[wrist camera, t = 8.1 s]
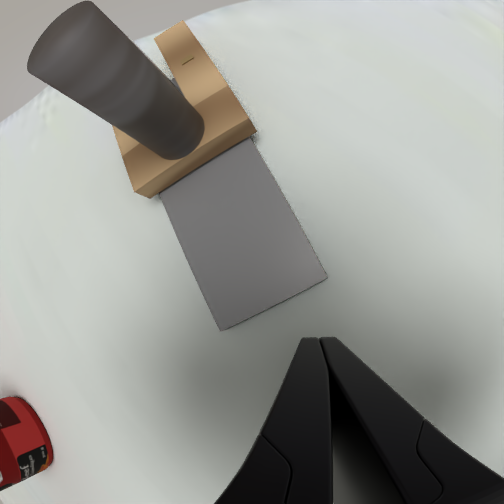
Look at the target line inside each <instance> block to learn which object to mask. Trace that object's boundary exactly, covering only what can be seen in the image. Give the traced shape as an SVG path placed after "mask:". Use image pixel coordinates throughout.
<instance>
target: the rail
mask: <svg viewBox="0 0 504 504" xmlns="http://www.w3.org/2000/svg"><path fill="white" fill-rule="evenodd" d="M127 37H128V36H127ZM128 38H129V37H128ZM129 39H130V38H129ZM130 40H131V39H130ZM131 41H132V40H131ZM132 42H133V41H132ZM133 43H134V42H133ZM134 44H135V43H134ZM135 45H136V44H135ZM136 46H137V45H136ZM137 47H138V46H137ZM138 48H139V47H138ZM139 49H140V48H139ZM140 50H141V49H140ZM141 51H142V50H141ZM142 52H143V51H142ZM143 53H144V52H143ZM144 55H145V56H146V57H147V58H148V59H149V60H150V58H149V57H148V56H147V55H146V54H145V53H144ZM150 61H151V60H150ZM151 62H152V61H151ZM152 63H153V62H152ZM153 64H154V63H153ZM154 65H155V64H154ZM155 66H156V65H155ZM156 67H157V66H156ZM157 68H158V67H157ZM158 69H159V68H158ZM159 70H160V69H159ZM160 71H161V70H160ZM161 72H162V71H161ZM162 73H163V72H162ZM163 75H164V76H165V77H166V75H165V74H164V73H163ZM166 78H167V77H166ZM167 79H168V78H167ZM168 80H169V79H168ZM169 81H170V82H171V83H172V84H173V85H174V86H175V87H176V89H177V90H178V91H179V92H180V93H181V94H182V95H183V96H184V94H183V92H182V91H181V89H180V87H179V85H178V83H177V81H176V79H175V78H173V79H172V80H169ZM184 97H185V96H184ZM159 195H160V197H161V200H162V202H163V205H164V207H165V209H166V212H167V214H168V217H169V219H170V221H171V224H172V226H173V229H174V231H175V233H176V236H177V238H178V240H179V243H180V245H181V247H182V249H183V252H184V254H185V256H186V259H187V261H188V263H189V265H190V268H191V270H192V272H193V274H194V276H195V279H196V281H197V283H198V285H199V287H200V290H201V292H202V294H203V296H204V298H205V300H206V303H207V305H208V307H209V309H210V311H211V313H212V315H213V317H214V319H215V322H216V324H217V326H218V328H219V330H220V331H223V330H225V329H227V328H229V327H231V326H233V325H235V324H238V323H240V322H242V321H244V320H246V319H248V318H250V317H252V316H254V315H256V314H258V313H260V312H262V311H264V310H266V309H268V308H270V307H272V306H274V305H276V304H278V303H280V302H282V301H284V300H286V299H288V298H290V297H292V296H294V295H296V294H298V293H300V292H302V291H304V290H306V289H308V288H310V287H311V286H313V285H315V284H317V283H319V282H321V281H323V280H325V279H327V278H328V277H327V275H326V273H325V271H324V269H323V267H322V265H321V263H320V261H319V259H318V258H317V256H316V254H315V252H314V250H313V248H312V246H311V244H310V242H309V241H308V239H307V237H306V235H305V233H304V231H303V229H302V228H301V226H300V224H299V222H298V220H297V218H296V217H295V215H294V213H293V211H292V209H291V207H290V206H289V204H288V202H287V200H286V198H285V197H284V195H283V193H282V191H281V190H280V188H279V186H278V184H277V183H276V181H275V179H274V177H273V176H272V174H271V172H270V170H269V169H268V167H267V165H266V163H265V162H264V160H263V158H262V157H261V155H260V153H259V151H258V150H257V148H256V146H255V145H254V143H253V141H252V140H251V138H250V136H249V137H247V138H245V139H243V140H242V141H240V142H238V143H237V144H235V145H233V146H231V147H230V148H228V149H226V150H225V151H223V152H221V153H220V154H218V155H217V156H215V157H213V158H212V159H210V160H208V161H207V162H205V163H204V164H202V165H200V166H199V167H197V168H196V169H194V170H193V171H191V172H189V173H188V174H186V175H185V176H183V177H182V178H180V179H179V180H177V181H176V182H174V183H173V184H171V185H170V186H168V187H167V188H165V189H164V190H162V191H161V192H159Z"/></svg>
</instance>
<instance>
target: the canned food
mask: <svg viewBox="0 0 504 504" xmlns="http://www.w3.org/2000/svg"><path fill="white" fill-rule="evenodd" d="M52 459H53V452H52V446H51V443H50V440H49V437H48V434H47V432H46V430H45V428H44V426H43V424H42V422H41V421H40V419H39V417H38V416H37V414H36V413H35V412H34V410H33V409H32V408H31V407H30V406H29V405H28V404H27V403H26V402H25V401H24V400H22V399H20V398H17V397H6V398H2V399H0V491H2V490H4V489H6V488H8V487H10V486H12V485H15V484H17V483H19V482H21V481H23V480H25V479H27V478H29V477H31V476H33V475H35V474H37V473H39V472H41V471H43V470H45V469H47V467H48V466H49V465H50V464H51V462H52Z"/></svg>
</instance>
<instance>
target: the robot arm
mask: <svg viewBox="0 0 504 504" xmlns="http://www.w3.org/2000/svg"><path fill="white" fill-rule="evenodd" d="M333 502H334V504H504V478H503V477H501V476H500V475H498V474H497V473H495V472H494V471H493V470H491V469H490V468H488V467H487V466H485V465H484V464H482V463H481V462H479V461H478V460H476V459H475V458H474V457H472V456H471V455H469V454H468V453H467V452H465V451H464V450H463V449H461V448H460V447H459V446H457V445H456V444H455V443H453V442H452V441H451V440H450V439H448V438H447V437H446V436H445V435H444V434H442V433H441V432H440V431H439V430H438V429H437V428H435V427H434V426H433V425H432V424H431V423H430V422H429V421H428V420H427V419H425V420H424V417H423V416H422V415H421V414H420V413H419V412H418V411H416V410H415V409H414V408H413V407H412V406H411V405H410V404H409V403H408V402H407V401H405V400H404V399H403V398H402V397H401V396H400V395H399V394H398V393H397V392H395V391H394V390H393V389H392V388H391V387H390V386H389V385H388V384H387V383H386V382H384V381H383V380H382V379H381V378H380V377H379V376H378V375H377V374H376V373H375V372H374V371H372V370H371V369H370V368H369V367H368V366H367V365H366V364H365V363H364V362H363V361H361V360H360V359H359V358H358V357H357V356H356V355H355V354H354V353H353V352H352V351H350V350H349V349H348V348H347V347H346V346H345V345H344V344H343V343H342V342H341V341H340V340H338V339H337V338H336V337H321V338H319V339H318V338H316V337H310V338H302V339H301V340H300V343H299V345H298V348H297V350H296V352H295V355H294V357H293V360H292V362H291V364H290V367H289V369H288V371H287V374H286V376H285V378H284V380H283V383H282V385H281V387H280V389H279V392H278V394H277V396H276V398H275V401H274V403H273V405H272V407H271V409H270V411H269V414H268V416H267V418H266V420H265V422H264V424H263V426H262V428H261V430H260V432H259V435H258V436H257V438H256V440H255V442H254V444H253V446H252V448H251V450H250V452H249V454H248V455H247V457H246V459H245V461H244V463H243V464H242V466H241V468H240V469H239V471H238V472H237V474H236V475H235V476H234V478H233V479H232V481H231V482H230V484H229V485H228V486H227V488H226V489H225V490H224V492H223V493H222V494H221V495H220V497H219V498H218V499H217V500H216V502H215V503H214V504H333Z"/></svg>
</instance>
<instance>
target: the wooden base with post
mask: <svg viewBox="0 0 504 504" xmlns="http://www.w3.org/2000/svg"><path fill="white" fill-rule="evenodd" d="M154 40H155V42H156V44H157V46H158V47H159V49H160V51H161V53H162V55H163V57H164V59H165V61H166V62H167V64H168V66H169V68H170V70H171V72H172V74H173V76H174V77H175V79H176V81H177V83H178V85H179V87H180V89H181V91H182V92H183V94H184V96H185V97H184V96H183V95H182V94H181V93H180V92H179V91H178V90H177V89H176V87H175V86H174V85H173V84H172V83H171V82H170V81H169V80H168V79H167V78H166V77H165V76H164V75H163V73H162V72H161V71H160V70H159V69H158V68H157V67H156V66H155V65H154V64H153V63H152V62H151V61H150V60H149V59H148V58H147V57H146V56H145V55H144V53H143V52H142V51H141V50H140V49H139V48H138V47H137V46H136V45H135V44H134V43H133V42H132V41H131V40H130V39H129V38H128V37H127V36H126V35H125V34H124V33H123V32H122V31H121V30H120V29H119V28H118V27H117V26H116V25H115V24H114V23H113V22H112V21H111V20H110V19H109V18H108V17H107V16H106V15H105V14H104V13H103V12H102V11H101V10H100V9H99V8H98V7H97V6H96V5H95V4H94V3H92V2H91V1H83V2H80V3H78V4H76V5H74V6H72V7H70V8H69V9H67V10H66V11H65V12H63V13H62V14H61V15H60V16H59V17H57V18H56V19H55V20H54V21H53V22H52V23H51V24H50V25H49V26H48V28H47V29H46V30H45V31H44V32H43V34H42V35H41V36H40V38H39V39H38V41H37V42H36V44H35V46H34V47H33V50H32V52H31V54H30V56H29V59H28V63H27V69H28V72H29V73H30V74H32V75H34V76H35V77H37V78H39V79H40V80H42V81H43V82H45V83H47V84H48V85H50V86H52V87H53V88H55V89H56V90H58V91H60V92H61V93H63V94H64V95H66V96H68V97H69V98H71V99H72V100H74V101H76V102H77V103H79V104H80V105H82V106H84V107H85V108H87V109H88V110H90V111H91V112H93V113H95V114H96V115H98V116H99V117H101V118H102V119H104V120H105V121H107V122H109V123H110V124H112V126H113V130H114V133H115V136H116V139H117V142H118V145H119V149H120V152H121V155H122V158H123V161H124V164H125V167H126V170H127V173H128V175H129V178H130V181H131V184H132V187H133V190H134V192H136V193H138V194H140V195H143V196H145V197H147V198H152V197H153V196H155V195H156V194H158V193H159V192H161V191H162V190H164V189H165V188H167V187H168V186H170V185H171V184H173V183H174V182H176V181H177V180H179V179H180V178H182V177H183V176H185V175H186V174H188V173H189V172H191V171H193V170H194V169H196V168H197V167H199V166H200V165H202V164H204V163H205V162H207V161H208V160H210V159H212V158H213V157H215V156H217V155H218V154H220V153H221V152H223V151H225V150H226V149H228V148H230V147H231V146H233V145H235V144H237V143H238V142H240V141H242V140H243V139H245V138H247V137H249V136H250V135H252V134H254V133H256V132H257V130H256V129H255V127H254V125H253V124H252V122H251V120H250V119H249V117H248V115H247V114H246V112H245V111H244V109H243V107H242V106H241V104H240V103H239V101H238V100H237V98H236V97H235V95H234V94H233V92H232V90H231V89H230V87H229V86H228V84H227V83H226V81H225V80H224V78H223V77H222V75H221V74H220V72H219V71H218V69H217V68H216V66H215V65H214V63H213V62H212V61H211V59H210V58H209V56H208V55H207V53H206V52H205V50H204V49H203V47H202V46H201V45H200V43H199V42H198V40H197V39H196V38H195V36H194V35H193V33H192V32H191V31H190V29H189V28H188V26H187V25H186V24H185V22H184V21H183V20H182V21H181V22H179V23H177V24H176V25H174V26H173V27H171V28H169V29H168V30H166V31H165V32H163V33H162V34H160V35H158V36H157V37H155V38H154Z"/></svg>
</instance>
